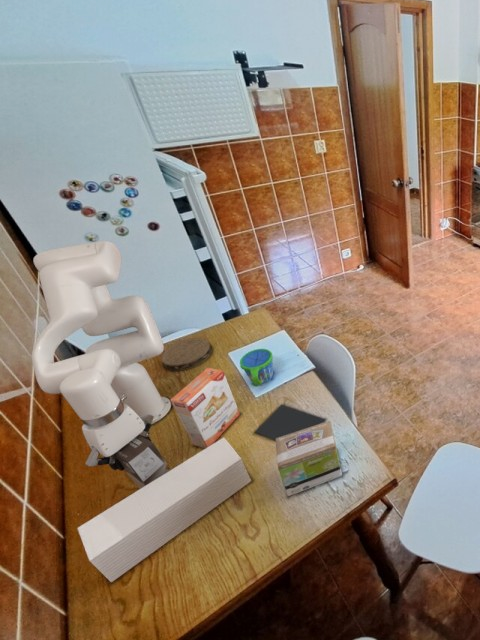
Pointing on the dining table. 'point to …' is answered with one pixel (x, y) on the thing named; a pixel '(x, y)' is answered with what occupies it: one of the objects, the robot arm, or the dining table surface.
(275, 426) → the placemat
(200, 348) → the round cork coaster
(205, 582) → the dining table surface
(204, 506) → the white long rectangular block
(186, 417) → the cracker box
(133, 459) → the coffee box
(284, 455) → the tea box
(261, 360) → the snack cup
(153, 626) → the dining table surface
